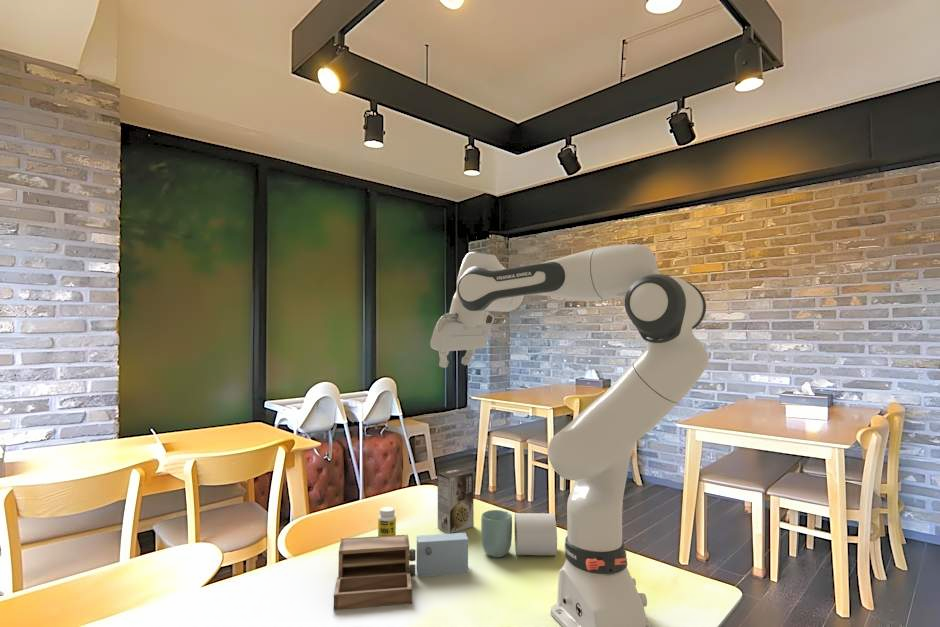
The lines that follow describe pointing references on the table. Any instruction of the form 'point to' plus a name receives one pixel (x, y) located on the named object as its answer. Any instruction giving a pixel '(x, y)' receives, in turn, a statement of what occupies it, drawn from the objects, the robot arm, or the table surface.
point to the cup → (496, 532)
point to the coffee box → (455, 500)
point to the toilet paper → (535, 534)
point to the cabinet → (374, 572)
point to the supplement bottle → (387, 522)
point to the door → (442, 554)
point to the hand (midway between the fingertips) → (454, 365)
